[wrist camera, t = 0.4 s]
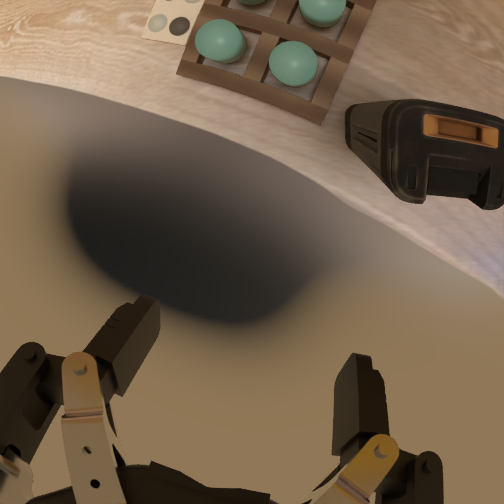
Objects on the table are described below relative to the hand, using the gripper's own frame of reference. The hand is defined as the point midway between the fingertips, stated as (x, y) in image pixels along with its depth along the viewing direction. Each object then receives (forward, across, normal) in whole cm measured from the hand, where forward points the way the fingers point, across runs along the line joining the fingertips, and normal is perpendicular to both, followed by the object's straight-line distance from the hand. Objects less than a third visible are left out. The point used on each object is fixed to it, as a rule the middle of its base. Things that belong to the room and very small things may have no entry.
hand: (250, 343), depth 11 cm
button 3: (+25, +10, -14) cm, 30 cm away
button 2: (+25, +1, -21) cm, 32 cm away
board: (+27, +6, -17) cm, 33 cm away
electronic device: (+28, -9, -9) cm, 30 cm away
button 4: (+24, +3, -13) cm, 28 cm away
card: (+27, +19, -20) cm, 39 cm away
